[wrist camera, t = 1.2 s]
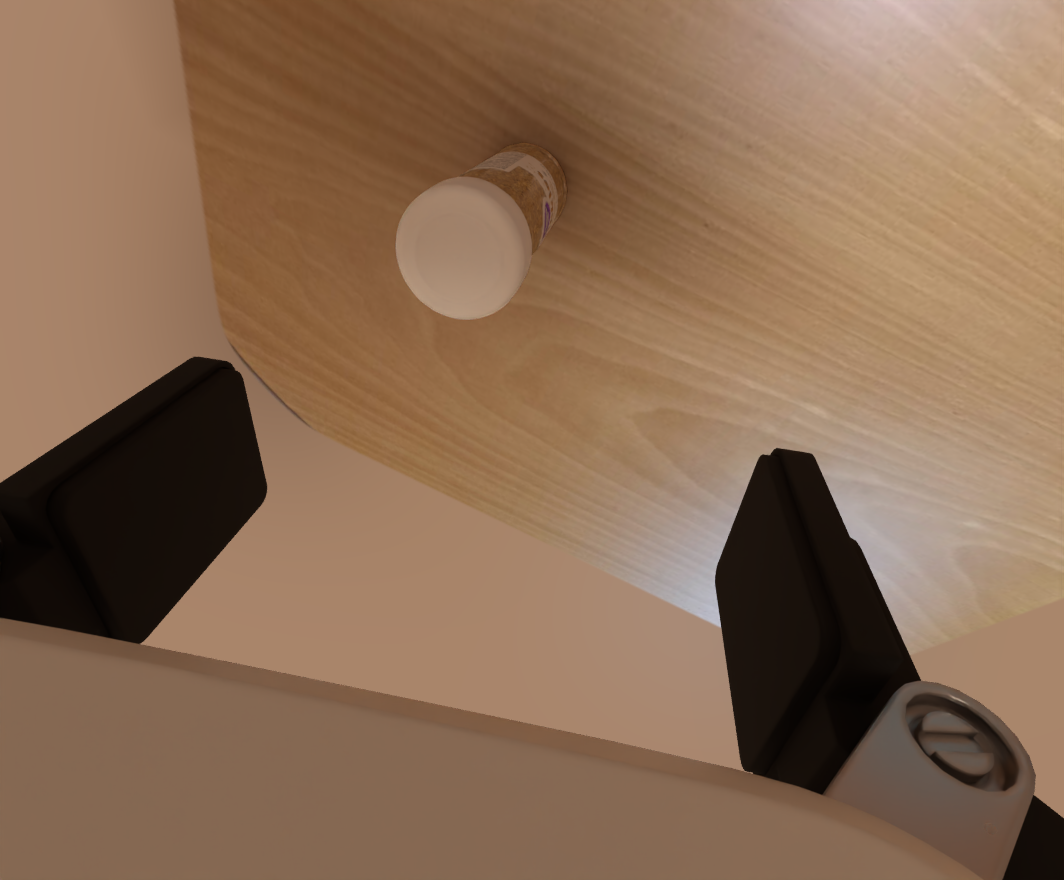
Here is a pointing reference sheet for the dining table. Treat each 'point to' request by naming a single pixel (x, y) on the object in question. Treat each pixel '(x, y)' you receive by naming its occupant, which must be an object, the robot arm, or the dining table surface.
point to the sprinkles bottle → (480, 231)
